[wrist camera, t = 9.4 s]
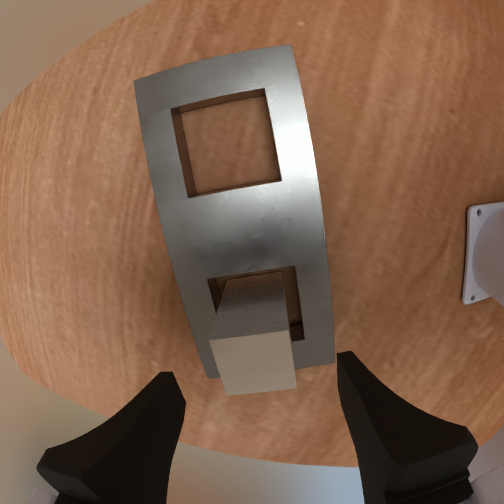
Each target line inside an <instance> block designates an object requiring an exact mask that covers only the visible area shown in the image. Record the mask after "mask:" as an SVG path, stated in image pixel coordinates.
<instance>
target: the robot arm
mask: <svg viewBox="0 0 504 504" xmlns="http://www.w3.org/2000/svg"><path fill="white" fill-rule="evenodd" d="M478 210H479V212H478V214H477V211H478ZM471 297H472V298H471ZM489 297H492V298H493V299H494V300H496V301H497V302H498V303H499V304H501V305H502V306H503V307H504V201H503V202H495V203H488V204H481V205H473V206H470V207H469V209H468V212H467V249H466V264H465V276H464V286H463V294H462V302H463V303H464V304H466V305H467V304H471V303H474V302H477V301H480V300H483V299H486V298H489ZM337 378H338V391H339V396H340V401H341V406H342V409H343V412H344V415H345V418H346V421H347V424H348V427H349V430H350V434H351V437H352V440H353V443H354V446H355V450H356V453H357V458H358V464H359V469H360V475H361V481H362V487H363V495H364V502H365V504H504V470H503V468H502V467H501V466H498V467H496V468H495V469H493V470H491V471H489V472H488V473H486V474H484V475H482V476H480V477H479V478H477V479H475V480H474V481H473V482H471V483H470V482H469V480H468V477H469V476H470V473H469V471H468V468H467V467H468V466H469V464H470V463H471V461H472V460H473V458H474V457H475V454H476V453H477V450H478V444H477V442H476V440H475V439H474V437H473V435H472V434H471V433H470V431H469V430H468V429H467V427H465V426H461V425H458V424H455V423H451V422H448V421H445V420H442V419H440V418H437V417H435V416H432V415H430V414H428V413H426V412H424V411H422V410H420V409H418V408H417V407H415V406H413V405H412V404H410V403H408V402H407V401H405V400H404V399H402V398H401V397H399V396H398V395H397V394H395V393H394V392H393V391H391V390H390V389H389V388H388V387H387V386H385V385H384V384H383V383H382V382H381V381H380V380H379V379H378V378H377V377H376V376H374V375H373V374H372V373H371V372H370V371H369V370H368V369H367V368H366V366H365V365H364V364H363V363H362V362H361V361H360V360H359V359H358V358H357V356H356V355H355V354H354V353H353V352H352V351H346V352H341V353H337ZM185 407H186V401H185V399H184V397H183V395H182V392H181V390H180V388H179V386H178V383H177V381H176V379H175V376H174V374H173V372H160V373H159V374H158V375H157V376H156V377H155V378H154V379H153V380H151V381H150V383H149V384H148V385H147V386H146V387H145V388H144V389H143V390H141V391H140V392H139V393H138V394H137V395H136V396H135V397H134V398H133V399H132V400H131V401H130V402H129V403H128V404H127V405H126V406H124V407H123V408H122V409H121V410H120V411H119V412H117V413H116V414H115V415H114V416H112V417H111V418H110V419H108V420H107V421H106V422H104V423H103V424H101V425H100V426H98V427H96V428H95V429H93V430H91V431H89V432H88V433H86V434H84V435H82V436H80V437H78V438H76V439H74V440H71V441H69V442H67V443H64V444H61V445H58V446H55V447H52V448H48V449H47V450H46V451H45V453H44V455H43V456H42V458H41V460H40V462H39V463H38V465H37V471H38V472H39V474H40V475H41V476H42V477H43V478H44V479H45V480H46V481H47V482H48V483H49V484H50V485H51V486H52V487H53V488H54V489H56V490H57V491H58V492H59V495H58V497H56V496H55V495H53V494H51V493H49V492H47V491H45V490H42V489H40V488H38V487H35V489H34V491H33V493H32V495H31V497H30V498H29V501H28V503H27V504H166V498H167V488H168V481H169V474H170V467H171V463H172V459H173V455H174V452H175V449H176V445H177V442H178V439H179V435H180V432H181V428H182V425H183V421H184V415H185Z"/></svg>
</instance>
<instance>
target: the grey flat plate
mask: <svg viewBox="0 0 504 504" xmlns="http://www.w3.org/2000/svg"><path fill="white" fill-rule="evenodd" d="M134 87H135V94H136V101H137V107H138V114H139V120H140V126H141V131H142V137H143V142H144V148H145V153H146V158H147V163H148V168H149V173H150V178H151V182H152V187H153V191H154V196H155V200H156V205H157V209H158V213H159V217H160V222H161V226H162V230H163V234H164V238H165V241H166V245H167V249H168V253H169V257H170V260H171V264H172V268H173V271H174V275H175V278H176V282H177V285H178V289H179V292H180V296H181V299H182V302H183V306H184V309H185V312H186V315H187V318H188V322H189V325H190V328H191V331H192V334H193V337H194V340H195V343H196V346H197V349H198V352H199V355H200V358H201V361H202V364H203V367H204V369H205V372H206V375H207V378H208V379H209V378H221V377H220V374H219V371H218V368H217V365H216V362H215V358H214V355H213V352H212V349H211V346H210V343H209V338H210V334H211V331H212V328H213V324H214V321H215V317H216V314H217V311H218V307H219V304H220V301H221V300H220V296H219V292H218V288H217V284H216V280H215V278H217V277H224V276H231V275H237V274H244V273H250V272H257V271H263V270H270V269H276V268H282V267H288V266H294V269H295V276H296V283H297V290H298V298H299V305H300V313H301V321H302V324H298V325H292V326H290V332H291V340H292V348H293V357H294V365H295V369H301V368H307V367H313V366H319V365H325V364H330V363H335V349H334V330H333V314H332V300H331V288H330V277H329V266H328V256H327V247H326V238H325V229H324V221H323V213H322V206H321V199H320V192H319V185H318V178H317V172H316V165H315V159H314V153H313V147H312V141H311V136H310V130H309V125H308V120H307V114H306V109H305V104H304V99H303V95H302V90H301V85H300V81H299V76H298V72H297V67H296V63H295V59H294V55H293V50H292V46H291V45H283V46H275V47H268V48H261V49H254V50H248V51H243V52H237V53H232V54H227V55H222V56H218V57H213V58H209V59H205V60H200V61H196V62H193V63H189V64H185V65H181V66H178V67H174V68H171V69H168V70H164V71H161V72H158V73H155V74H152V75H149V76H146V77H143V78H140V79H137V80H134ZM262 95H265V99H266V104H267V109H268V114H269V119H270V124H271V130H272V135H273V140H274V146H275V151H276V157H277V162H278V168H279V174H280V179H275V180H269V181H263V182H257V183H251V184H245V185H240V186H235V187H229V188H224V189H219V190H214V191H209V192H204V193H199V194H196V192H195V187H194V183H193V178H192V173H191V168H190V163H189V158H188V153H187V148H186V143H185V137H184V132H183V127H182V121H181V116H180V113H182V112H186V111H190V110H194V109H198V108H202V107H207V106H211V105H215V104H220V103H225V102H230V101H235V100H240V99H245V98H251V97H256V96H262Z"/></svg>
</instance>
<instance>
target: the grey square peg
mask: <svg viewBox="0 0 504 504" xmlns="http://www.w3.org/2000/svg"><path fill="white" fill-rule="evenodd" d="M209 343H210V346H211V349H212V352H213V355H214V358H215V362H216V365H217V368H218V371H219V374H220V377H221V380H222V383H223V386H224V389H225V392H226V394H227V395H239V394H250V393H260V392H269V391H277V390H285V389H292V388H297V383H296V374H295V365H294V357H293V348H292V340H291V332H290V324H289V317H288V310H287V304H286V297H285V291H284V285H283V278H282V272H281V271H280V272H274V273H268V274H261V275H255V276H249V277H242V278H236V279H229V280H227V281H226V284H225V288H224V291H223V294H222V297H221V301H220V304H219V307H218V311H217V314H216V317H215V321H214V324H213V328H212V331H211V334H210V338H209Z"/></svg>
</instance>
